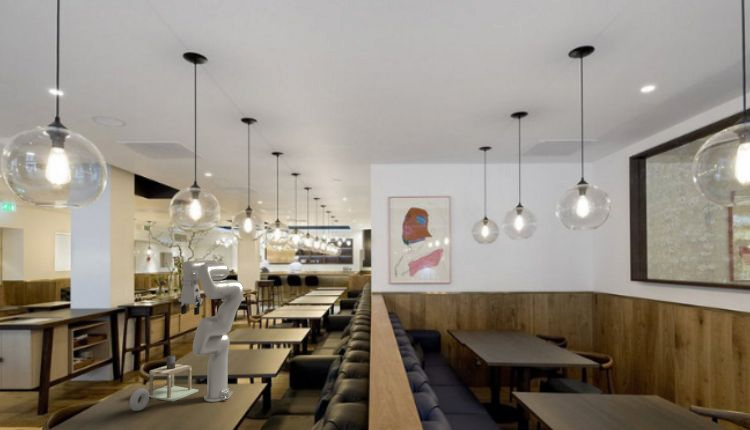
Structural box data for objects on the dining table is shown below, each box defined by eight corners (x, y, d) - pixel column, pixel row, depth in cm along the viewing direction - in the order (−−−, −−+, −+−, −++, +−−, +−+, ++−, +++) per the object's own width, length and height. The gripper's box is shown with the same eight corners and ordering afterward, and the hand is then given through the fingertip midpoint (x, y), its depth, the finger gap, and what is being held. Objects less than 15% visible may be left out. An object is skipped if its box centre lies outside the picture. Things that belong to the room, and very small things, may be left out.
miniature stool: (191, 389, 223) (191, 354, 224) (168, 398, 210) (169, 361, 212) (172, 386, 229) (172, 352, 230) (149, 394, 216) (149, 358, 217)
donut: (133, 415, 192) (133, 392, 192) (127, 414, 193) (127, 391, 193) (151, 406, 201) (151, 385, 202) (145, 406, 202) (145, 384, 203)
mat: (198, 391, 222) (198, 389, 222) (172, 401, 208) (172, 399, 208) (168, 386, 231) (168, 385, 231) (141, 396, 217) (141, 394, 217)
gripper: (207, 282, 237) (207, 313, 236) (184, 282, 244) (184, 312, 243) (196, 283, 230) (196, 316, 229) (173, 283, 237) (173, 314, 236)
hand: (190, 314), depth 236 cm, fingers open, 9 cm apart
